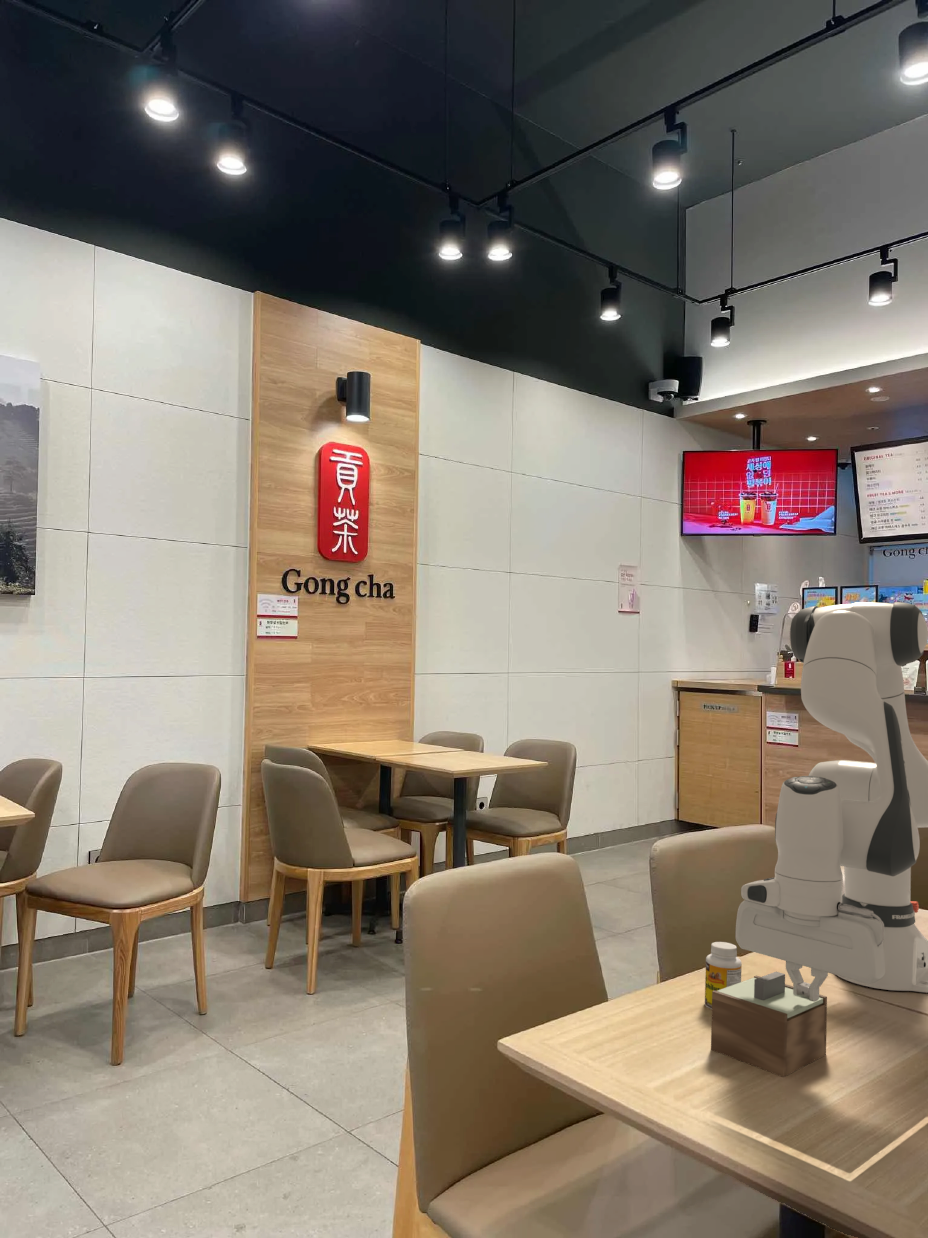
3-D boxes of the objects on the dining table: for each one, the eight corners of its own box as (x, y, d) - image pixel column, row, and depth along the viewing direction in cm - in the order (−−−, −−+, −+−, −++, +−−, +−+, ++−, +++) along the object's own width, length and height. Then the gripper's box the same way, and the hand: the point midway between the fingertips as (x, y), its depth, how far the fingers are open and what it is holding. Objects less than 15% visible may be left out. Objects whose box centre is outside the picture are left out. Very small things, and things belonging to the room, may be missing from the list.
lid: (753, 981, 136) (753, 960, 136) (822, 1003, 128) (823, 980, 128) (716, 995, 129) (717, 973, 129) (787, 1018, 121) (788, 995, 121)
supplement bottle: (697, 1005, 148) (699, 941, 148) (727, 1002, 149) (729, 939, 150) (717, 1017, 142) (718, 951, 143) (747, 1015, 144) (749, 949, 145)
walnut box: (755, 1034, 136) (756, 975, 137) (825, 1059, 128) (827, 996, 129) (710, 1053, 128) (712, 991, 129) (783, 1081, 120) (784, 1015, 121)
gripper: (894, 909, 120) (892, 1016, 119) (753, 879, 135) (751, 974, 134) (873, 916, 116) (872, 1027, 115) (731, 884, 131) (728, 982, 130)
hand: (806, 998), depth 125 cm, fingers closed
